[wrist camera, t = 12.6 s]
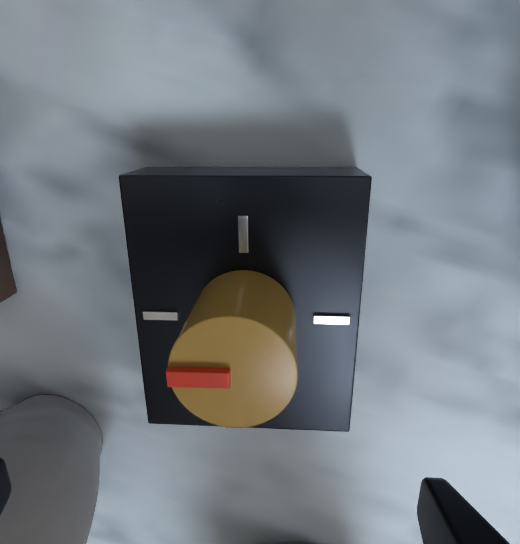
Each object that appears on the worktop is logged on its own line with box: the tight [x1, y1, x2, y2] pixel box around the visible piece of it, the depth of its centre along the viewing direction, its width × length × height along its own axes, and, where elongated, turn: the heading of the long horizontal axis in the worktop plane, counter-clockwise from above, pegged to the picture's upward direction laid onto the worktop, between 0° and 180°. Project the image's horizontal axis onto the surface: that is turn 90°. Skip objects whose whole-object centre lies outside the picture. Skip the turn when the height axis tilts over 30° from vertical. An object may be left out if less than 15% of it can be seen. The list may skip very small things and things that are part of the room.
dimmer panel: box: [119, 167, 372, 432], centre depth 17 cm, size 11×9×3 cm
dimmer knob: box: [166, 270, 298, 428], centre depth 14 cm, size 4×4×4 cm
